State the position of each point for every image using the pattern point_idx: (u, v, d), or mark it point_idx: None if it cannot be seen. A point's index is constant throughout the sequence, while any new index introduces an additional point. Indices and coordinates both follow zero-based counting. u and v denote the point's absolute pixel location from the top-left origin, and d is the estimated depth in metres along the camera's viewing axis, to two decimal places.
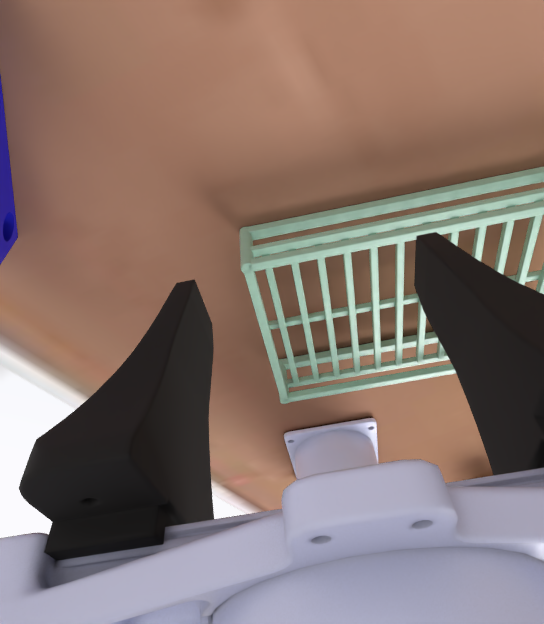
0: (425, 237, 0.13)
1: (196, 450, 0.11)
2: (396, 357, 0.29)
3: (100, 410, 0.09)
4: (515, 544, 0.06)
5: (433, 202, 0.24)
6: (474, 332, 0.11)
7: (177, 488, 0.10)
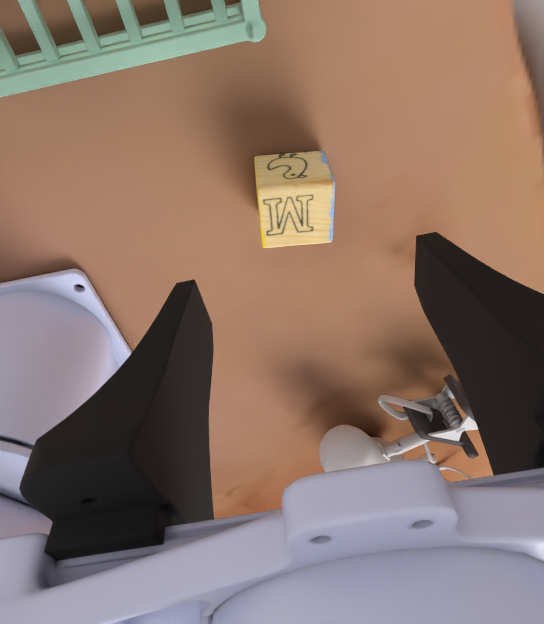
0: (425, 237, 0.13)
1: (196, 450, 0.11)
2: None
3: (99, 410, 0.09)
4: (515, 544, 0.06)
5: None
6: (474, 332, 0.11)
7: (177, 488, 0.10)
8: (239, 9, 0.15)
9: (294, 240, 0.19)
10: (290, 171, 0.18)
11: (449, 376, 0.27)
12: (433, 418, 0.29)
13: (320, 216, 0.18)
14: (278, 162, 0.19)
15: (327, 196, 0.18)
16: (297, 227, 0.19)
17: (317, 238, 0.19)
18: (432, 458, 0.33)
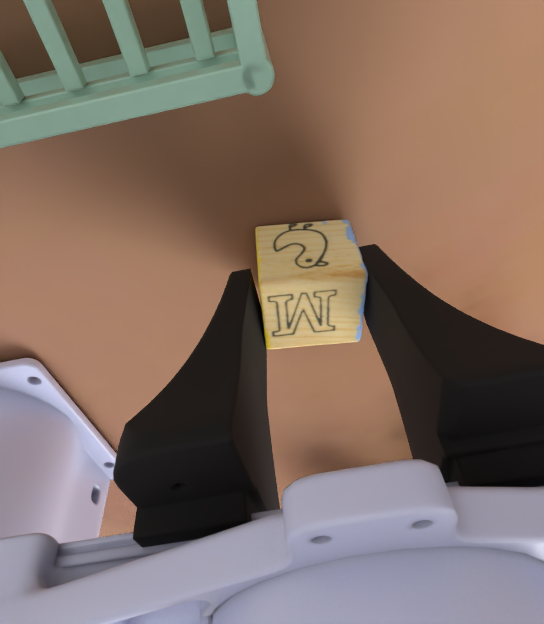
0: (363, 249, 0.13)
1: (264, 439, 0.11)
2: None
3: (184, 395, 0.09)
4: (515, 544, 0.06)
5: None
6: (397, 346, 0.11)
7: (258, 475, 0.09)
8: (233, 38, 0.10)
9: (309, 341, 0.14)
10: (304, 253, 0.13)
11: None
12: None
13: (346, 313, 0.13)
14: (287, 238, 0.14)
15: (356, 291, 0.13)
16: (314, 326, 0.14)
17: (340, 338, 0.14)
18: None
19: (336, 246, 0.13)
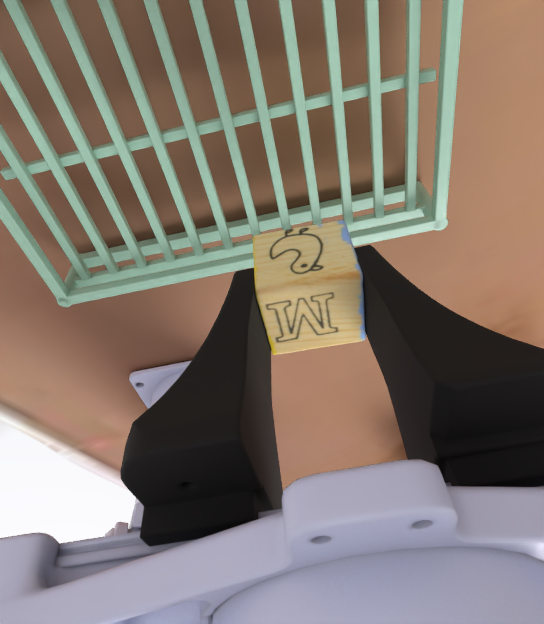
0: (358, 250, 0.13)
1: (269, 438, 0.11)
2: (220, 234, 0.20)
3: (190, 394, 0.09)
4: (515, 544, 0.06)
5: None
6: (391, 347, 0.11)
7: (265, 474, 0.09)
8: None
9: (314, 344, 0.14)
10: (300, 259, 0.13)
11: None
12: None
13: (346, 314, 0.13)
14: (283, 244, 0.14)
15: (353, 292, 0.13)
16: (316, 329, 0.14)
17: (345, 339, 0.14)
18: None
19: (331, 248, 0.13)
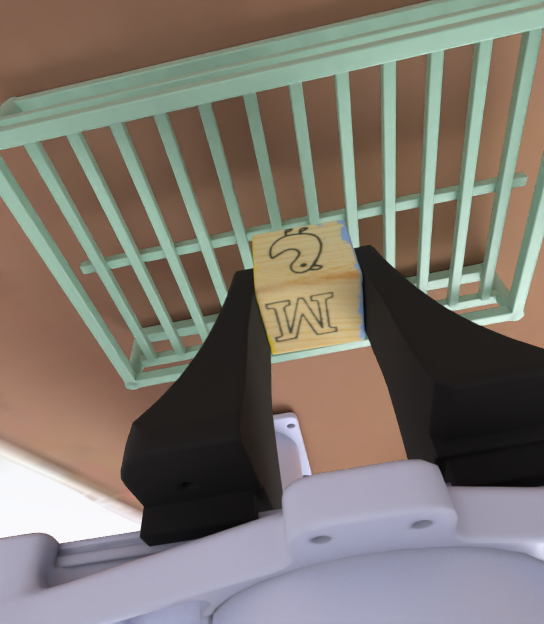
0: (358, 250, 0.13)
1: (270, 438, 0.11)
2: None
3: (190, 394, 0.09)
4: (515, 544, 0.06)
5: None
6: (391, 347, 0.11)
7: (265, 474, 0.09)
8: (480, 273, 0.21)
9: (313, 343, 0.14)
10: (299, 258, 0.13)
11: None
12: None
13: (346, 314, 0.13)
14: (283, 244, 0.14)
15: (353, 291, 0.13)
16: (315, 329, 0.14)
17: (344, 338, 0.14)
18: None
19: (331, 248, 0.13)
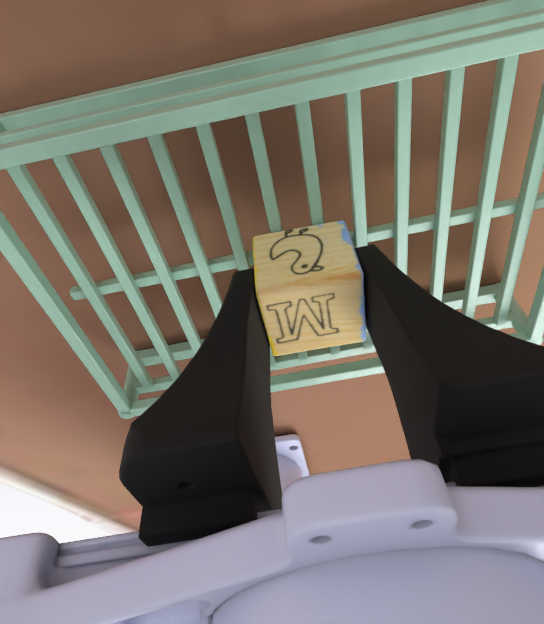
0: (361, 250, 0.13)
1: (269, 438, 0.11)
2: None
3: (189, 394, 0.09)
4: (515, 544, 0.06)
5: None
6: (395, 346, 0.11)
7: (264, 474, 0.09)
8: (495, 295, 0.20)
9: (314, 345, 0.14)
10: (300, 259, 0.13)
11: None
12: None
13: (347, 315, 0.13)
14: (283, 245, 0.14)
15: (354, 292, 0.13)
16: (317, 330, 0.14)
17: (345, 339, 0.14)
18: None
19: (331, 249, 0.13)
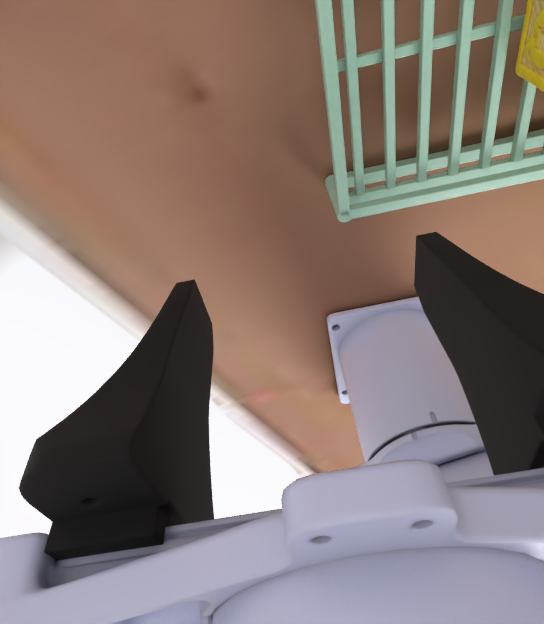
0: (425, 237, 0.13)
1: (196, 450, 0.11)
2: (516, 143, 0.19)
3: (99, 410, 0.09)
4: (515, 544, 0.06)
5: None
6: (473, 332, 0.11)
7: (177, 488, 0.10)
8: None
9: None
10: None
11: None
12: None
13: None
14: None
15: None
16: None
17: None
18: None
19: None
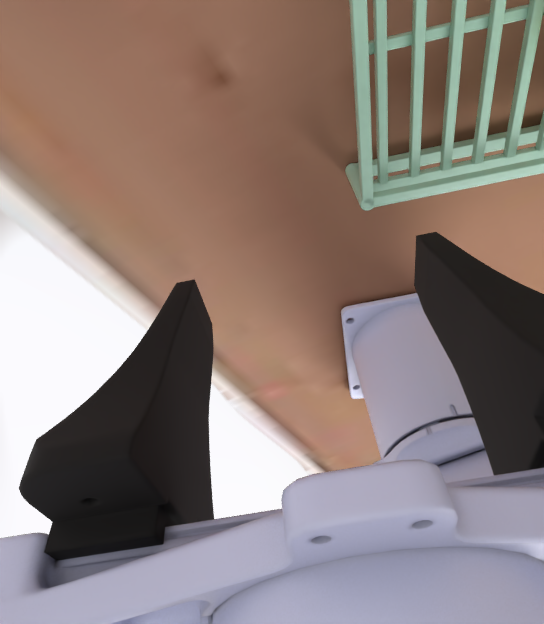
0: (425, 237, 0.13)
1: (196, 450, 0.11)
2: (543, 131, 0.19)
3: (99, 410, 0.09)
4: (515, 544, 0.06)
5: None
6: (474, 332, 0.11)
7: (177, 488, 0.10)
8: None
9: None
10: None
11: None
12: None
13: None
14: None
15: None
16: None
17: None
18: None
19: None
